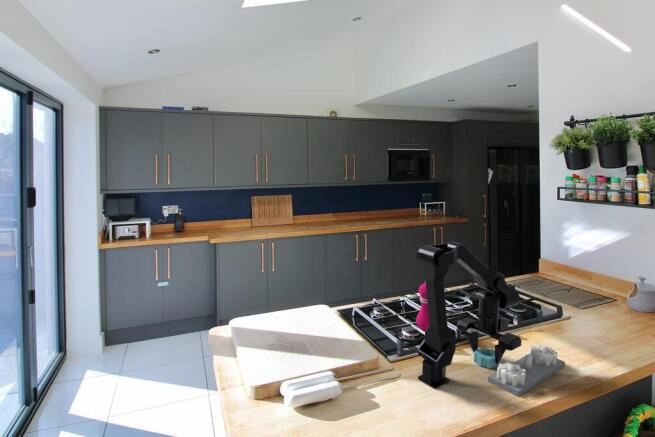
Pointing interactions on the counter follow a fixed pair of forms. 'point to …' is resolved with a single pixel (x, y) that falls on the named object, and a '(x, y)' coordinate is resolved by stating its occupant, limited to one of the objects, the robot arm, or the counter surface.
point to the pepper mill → (423, 309)
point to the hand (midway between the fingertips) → (486, 358)
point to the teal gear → (485, 357)
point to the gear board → (527, 370)
